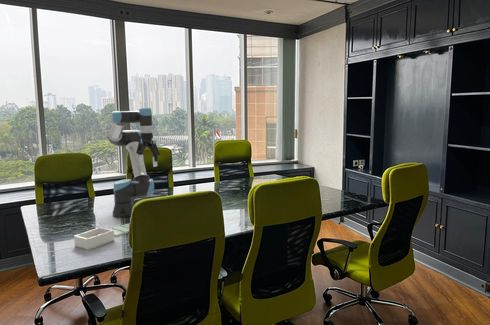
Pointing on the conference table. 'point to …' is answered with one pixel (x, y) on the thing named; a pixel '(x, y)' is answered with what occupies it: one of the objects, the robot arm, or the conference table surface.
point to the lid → (121, 230)
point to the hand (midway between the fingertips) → (148, 165)
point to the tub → (94, 238)
